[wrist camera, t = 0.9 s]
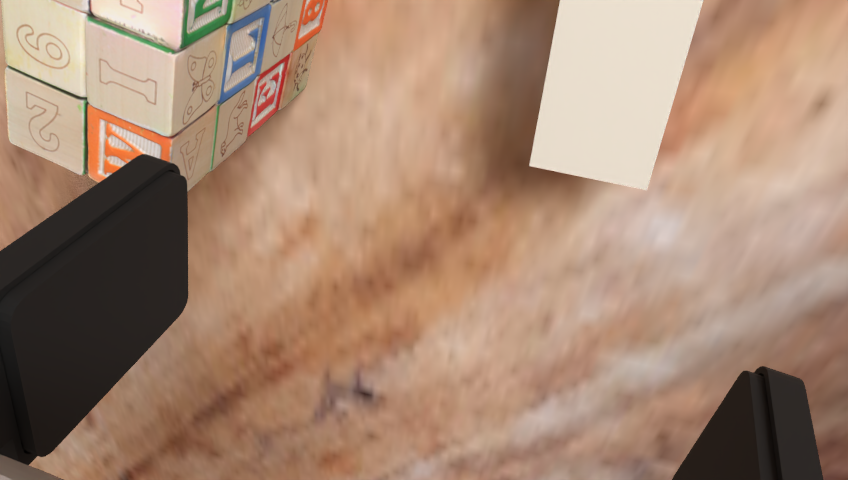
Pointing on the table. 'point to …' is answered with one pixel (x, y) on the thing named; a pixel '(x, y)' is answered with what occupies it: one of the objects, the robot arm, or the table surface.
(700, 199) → the table surface
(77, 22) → the stack of blocks
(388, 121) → the table surface
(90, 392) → the robot arm
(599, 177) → the cream bar block
